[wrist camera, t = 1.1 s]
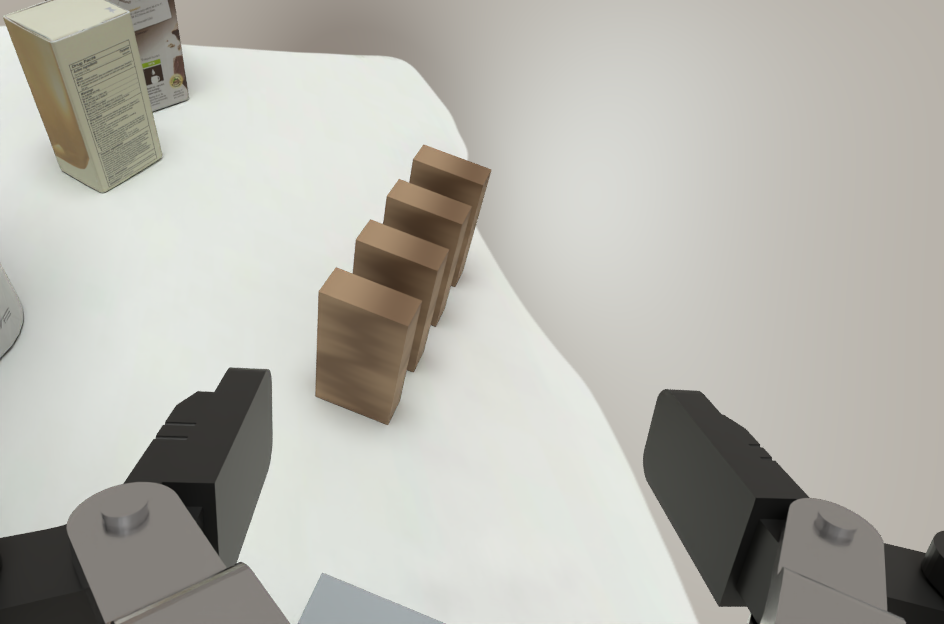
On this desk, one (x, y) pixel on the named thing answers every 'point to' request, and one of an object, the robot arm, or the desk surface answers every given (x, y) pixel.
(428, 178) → the walnut domino
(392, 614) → the grey domino
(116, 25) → the skincare box
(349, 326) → the walnut domino
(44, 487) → the desk surface
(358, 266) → the walnut domino
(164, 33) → the coffee box
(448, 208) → the walnut domino
